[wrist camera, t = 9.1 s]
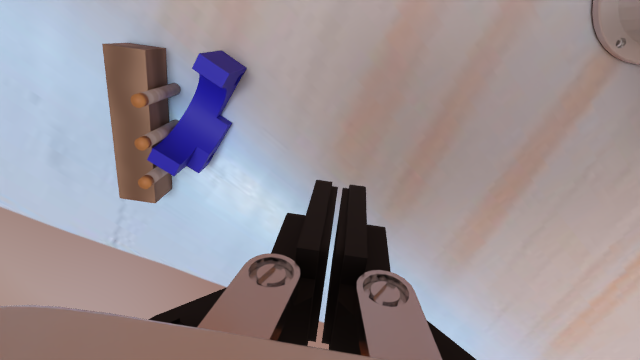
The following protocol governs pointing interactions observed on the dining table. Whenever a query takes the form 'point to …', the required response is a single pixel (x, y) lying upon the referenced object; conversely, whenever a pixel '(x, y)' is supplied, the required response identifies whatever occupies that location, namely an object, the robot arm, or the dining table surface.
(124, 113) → the peg rack
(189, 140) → the blue curved cradle
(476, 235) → the dining table surface
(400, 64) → the dining table surface
